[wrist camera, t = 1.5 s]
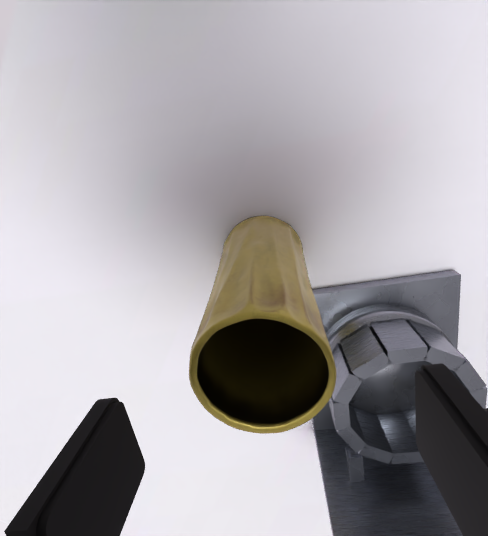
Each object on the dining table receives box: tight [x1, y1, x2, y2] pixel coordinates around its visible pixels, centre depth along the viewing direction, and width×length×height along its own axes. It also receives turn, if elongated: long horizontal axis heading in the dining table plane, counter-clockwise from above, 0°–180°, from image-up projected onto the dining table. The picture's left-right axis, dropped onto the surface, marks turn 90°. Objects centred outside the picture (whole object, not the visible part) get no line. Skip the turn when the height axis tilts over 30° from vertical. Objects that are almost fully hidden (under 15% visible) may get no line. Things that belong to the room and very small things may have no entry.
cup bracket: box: [312, 270, 487, 536], centre depth 21 cm, size 15×12×12 cm
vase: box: [189, 216, 336, 433], centre depth 18 cm, size 6×6×14 cm
